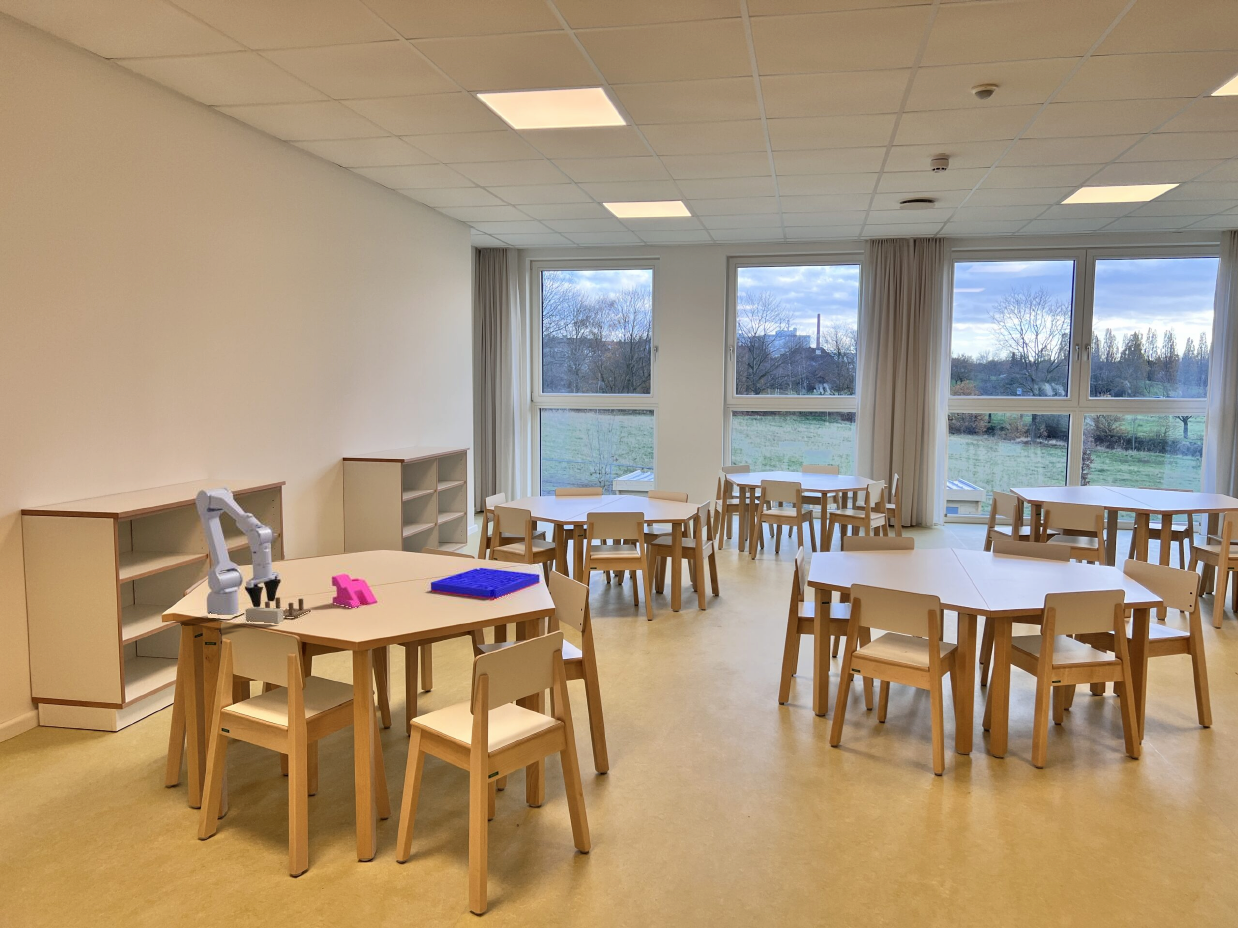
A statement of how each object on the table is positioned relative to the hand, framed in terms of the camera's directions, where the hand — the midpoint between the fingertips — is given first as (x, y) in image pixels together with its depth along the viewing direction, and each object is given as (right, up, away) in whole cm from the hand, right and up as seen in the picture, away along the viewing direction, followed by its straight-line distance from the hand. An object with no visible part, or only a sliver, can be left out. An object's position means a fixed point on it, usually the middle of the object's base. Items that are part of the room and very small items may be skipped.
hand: (264, 603), depth 274 cm
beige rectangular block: (0, -7, +1) cm, 7 cm away
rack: (+2, -6, +11) cm, 13 cm away
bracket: (+22, -5, +26) cm, 34 cm away
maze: (+66, -3, +50) cm, 82 cm away
